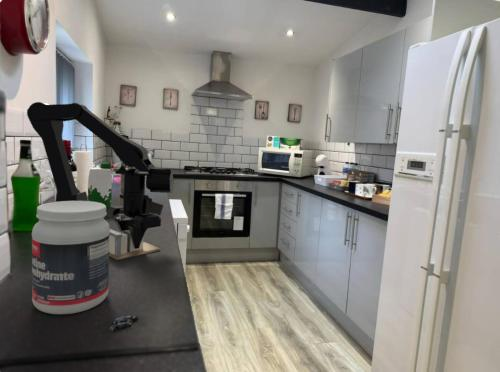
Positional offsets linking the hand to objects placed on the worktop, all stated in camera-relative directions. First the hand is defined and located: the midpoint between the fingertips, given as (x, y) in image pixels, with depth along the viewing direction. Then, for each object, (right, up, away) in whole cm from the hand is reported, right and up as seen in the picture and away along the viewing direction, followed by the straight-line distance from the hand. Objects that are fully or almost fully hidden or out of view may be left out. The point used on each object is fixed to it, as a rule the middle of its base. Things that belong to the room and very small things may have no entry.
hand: (132, 246), depth 96 cm
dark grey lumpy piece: (+12, -7, -38) cm, 40 cm away
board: (0, -1, 0) cm, 1 cm away
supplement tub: (-1, -5, -31) cm, 31 cm away
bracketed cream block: (-3, -1, -3) cm, 5 cm away
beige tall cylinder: (-23, +7, +62) cm, 67 cm away
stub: (0, -1, 0) cm, 1 cm away
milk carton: (-30, +6, +48) cm, 57 cm away
